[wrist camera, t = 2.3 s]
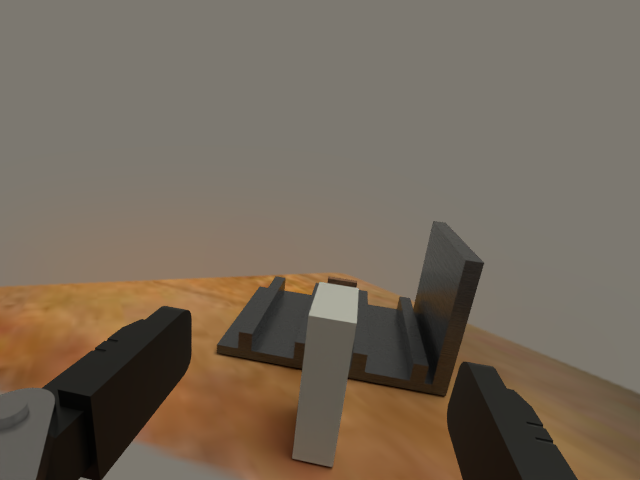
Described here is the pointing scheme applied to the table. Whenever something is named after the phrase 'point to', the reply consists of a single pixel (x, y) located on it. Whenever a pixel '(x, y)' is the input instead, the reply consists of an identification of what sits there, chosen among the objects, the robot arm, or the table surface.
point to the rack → (375, 322)
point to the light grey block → (325, 372)
